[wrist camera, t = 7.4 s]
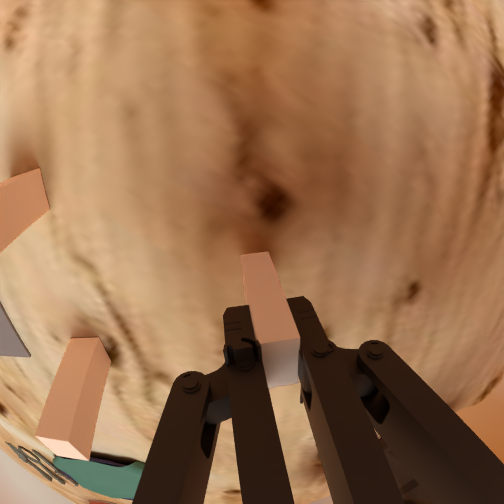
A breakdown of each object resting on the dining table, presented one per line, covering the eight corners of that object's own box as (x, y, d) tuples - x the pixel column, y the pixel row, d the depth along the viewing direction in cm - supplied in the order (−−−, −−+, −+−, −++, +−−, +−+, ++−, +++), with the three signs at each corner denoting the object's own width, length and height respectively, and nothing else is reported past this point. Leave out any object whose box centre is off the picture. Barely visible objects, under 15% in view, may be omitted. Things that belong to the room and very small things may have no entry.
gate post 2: (98, 337, 20) (68, 441, 12) (111, 361, 21) (89, 460, 13) (70, 338, 19) (35, 435, 12) (84, 361, 21) (57, 455, 13)
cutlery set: (192, 495, 39) (192, 505, 37) (53, 477, 37) (51, 486, 35) (155, 452, 30) (154, 467, 28) (-7, 425, 28) (-11, 436, 26)
